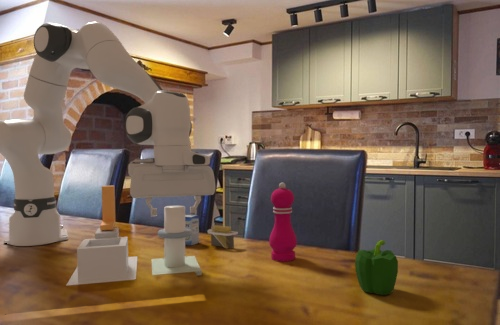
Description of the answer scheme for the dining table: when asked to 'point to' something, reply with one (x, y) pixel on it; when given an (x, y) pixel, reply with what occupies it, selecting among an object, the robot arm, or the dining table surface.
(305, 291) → the dining table surface
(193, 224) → the medicine box
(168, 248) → the cartridge
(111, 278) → the housing
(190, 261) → the mat
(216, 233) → the butter dish
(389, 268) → the bell pepper
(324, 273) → the dining table surface
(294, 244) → the pepper mill
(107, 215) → the release bolt
